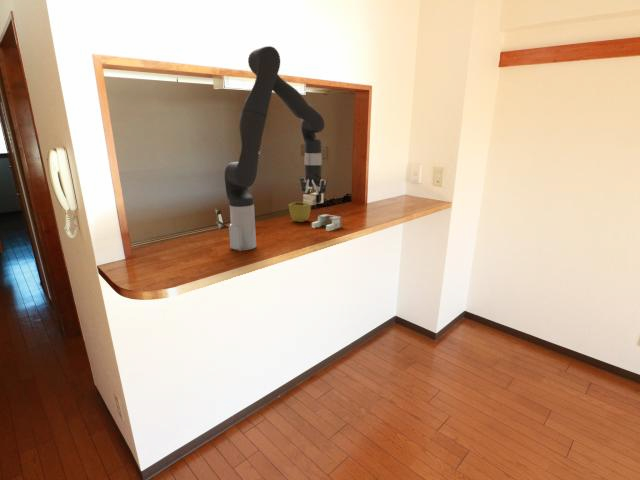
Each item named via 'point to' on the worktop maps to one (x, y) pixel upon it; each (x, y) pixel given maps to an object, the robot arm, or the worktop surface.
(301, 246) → the worktop surface
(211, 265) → the worktop surface
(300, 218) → the flower pot
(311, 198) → the cream pronged block
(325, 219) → the channel
